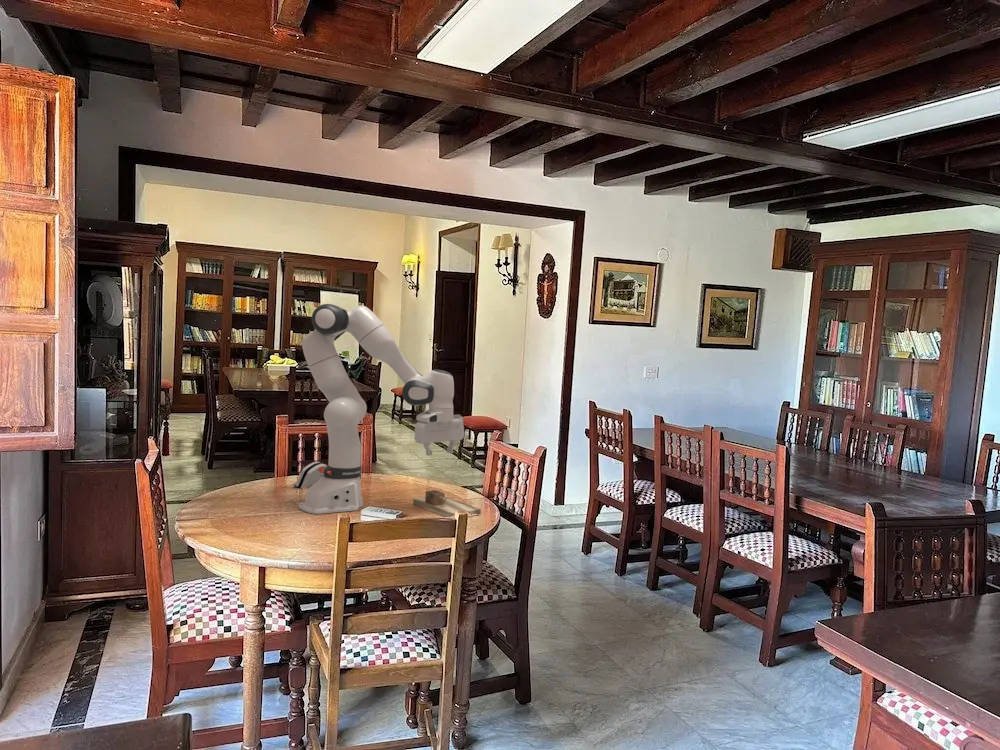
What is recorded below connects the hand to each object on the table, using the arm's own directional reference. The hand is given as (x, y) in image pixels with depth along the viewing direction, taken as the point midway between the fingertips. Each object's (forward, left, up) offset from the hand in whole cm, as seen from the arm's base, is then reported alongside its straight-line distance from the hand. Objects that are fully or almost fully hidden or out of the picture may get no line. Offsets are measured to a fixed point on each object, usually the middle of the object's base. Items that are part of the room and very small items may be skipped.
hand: (439, 454), depth 242 cm
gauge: (-1, 0, -18) cm, 18 cm away
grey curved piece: (-21, +56, -20) cm, 63 cm away
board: (+2, -3, -20) cm, 20 cm away
